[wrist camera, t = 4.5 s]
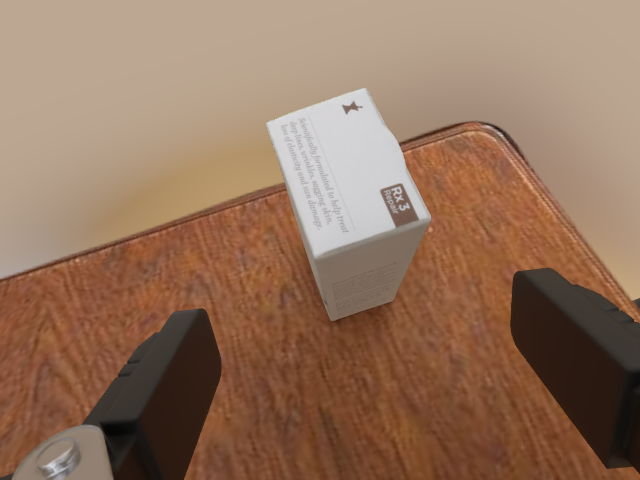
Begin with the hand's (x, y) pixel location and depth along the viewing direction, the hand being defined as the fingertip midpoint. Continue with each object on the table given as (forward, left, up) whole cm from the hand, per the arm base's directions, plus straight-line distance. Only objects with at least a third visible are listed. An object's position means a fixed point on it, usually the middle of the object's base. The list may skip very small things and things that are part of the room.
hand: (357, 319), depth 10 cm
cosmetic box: (0, -6, -13) cm, 14 cm away
